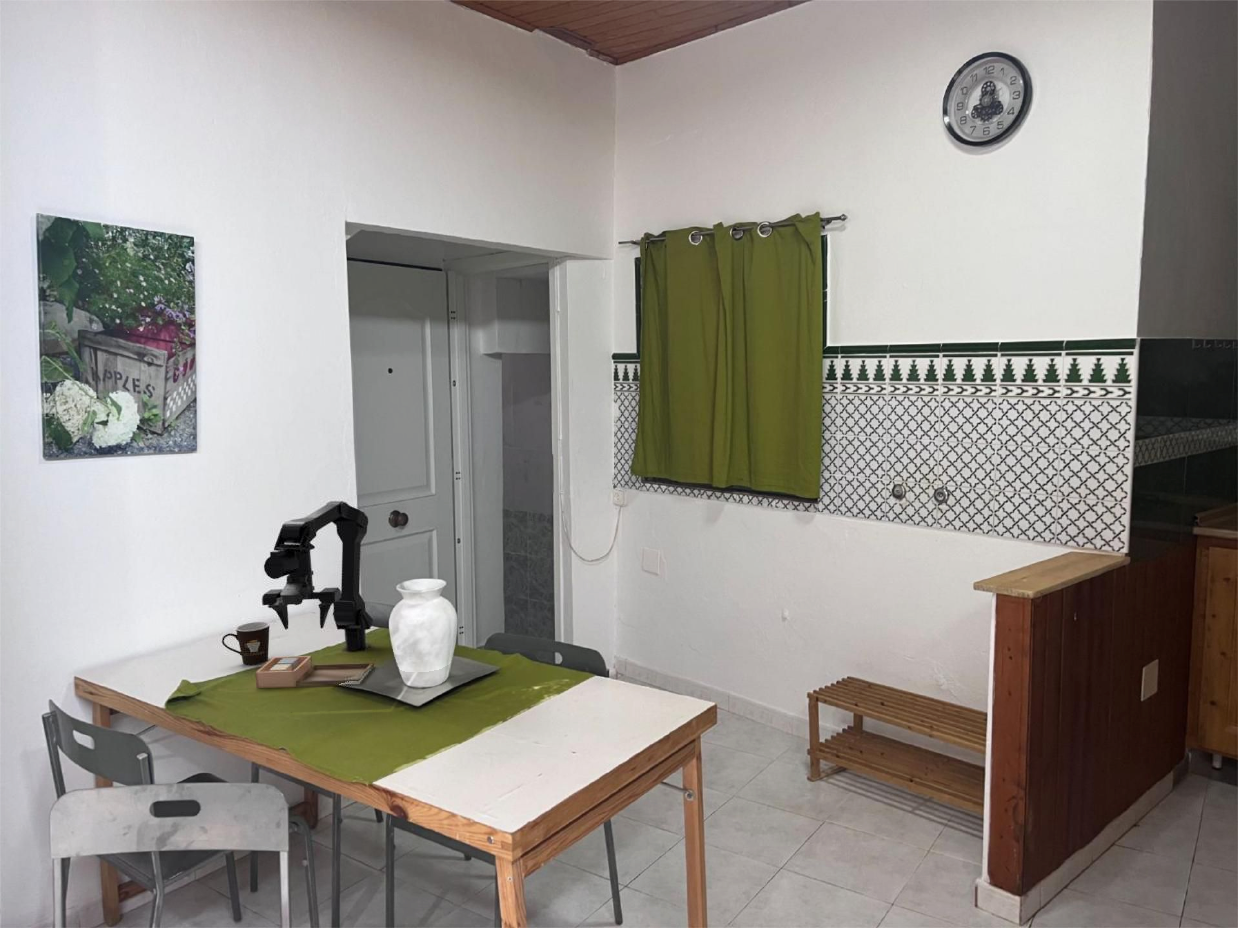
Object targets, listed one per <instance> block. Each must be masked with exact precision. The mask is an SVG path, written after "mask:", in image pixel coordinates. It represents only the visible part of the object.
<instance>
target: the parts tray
mask: <svg viewBox="0 0 1238 928" xmlns="http://www.w3.org/2000/svg"><path fill="white" fill-rule="evenodd" d="M373 667H375V663H374V662H352V663H351V662H349V663H318V664H317V663H315V664H312V667H311V668H310V669H308V670H307V671H306V672H305V673H304V674H303V675H302V676H301V677H300V678H299V679H298V680H297V681H296V687H300V688H301V687H326V686H329V687H330V686H331V687H333V686H334V687H335V686H340V685H339V684H341V683H345V682H347V681H348V682H349V681H359V680H360V679H361V678H362V676H364V674H365V673H366V672H367V671H368V670H370V669H372V668H373ZM373 669H374V668H373ZM373 669H372V670H373ZM362 672H363V673H362ZM360 673H362V674H361V676H360V677H359V678H358V679H348V678H351V677H353V676H355V675H356V674H360ZM345 679H346V680H345Z"/></svg>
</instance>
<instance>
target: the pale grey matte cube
mask: <svg viewBox="0 0 1238 928" xmlns="http://www.w3.org/2000/svg"><path fill="white" fill-rule="evenodd" d="M279 664H291V668H292V671H294V670H295V669H296V668H297V667H298V666H299V661H298V658H283V659H282V660H280V661H279V662H278V663H277V665H279Z"/></svg>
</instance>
